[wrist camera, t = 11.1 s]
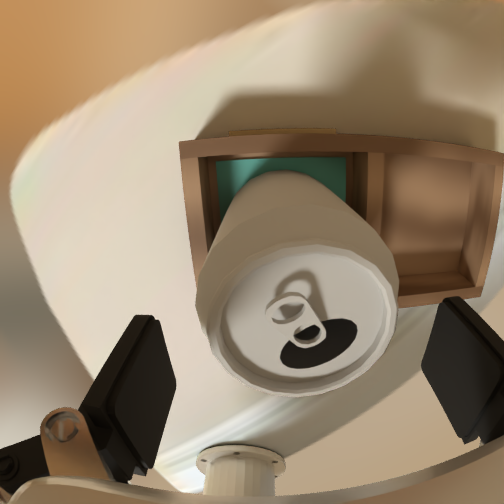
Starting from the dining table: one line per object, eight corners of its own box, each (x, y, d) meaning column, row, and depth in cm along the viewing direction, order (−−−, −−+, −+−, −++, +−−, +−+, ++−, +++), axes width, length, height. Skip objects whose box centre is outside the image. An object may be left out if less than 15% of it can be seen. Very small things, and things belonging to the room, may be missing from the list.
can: (267, 292, 22) (270, 431, 11) (204, 209, 20) (136, 308, 9) (356, 238, 20) (438, 349, 9) (299, 145, 18) (358, 163, 7)
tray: (457, 275, 22) (480, 296, 19) (210, 290, 23) (202, 319, 20) (473, 143, 18) (504, 149, 14) (193, 135, 19) (178, 136, 15)
